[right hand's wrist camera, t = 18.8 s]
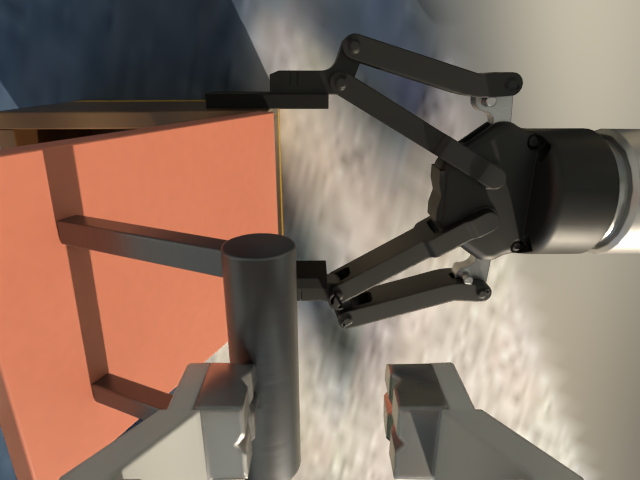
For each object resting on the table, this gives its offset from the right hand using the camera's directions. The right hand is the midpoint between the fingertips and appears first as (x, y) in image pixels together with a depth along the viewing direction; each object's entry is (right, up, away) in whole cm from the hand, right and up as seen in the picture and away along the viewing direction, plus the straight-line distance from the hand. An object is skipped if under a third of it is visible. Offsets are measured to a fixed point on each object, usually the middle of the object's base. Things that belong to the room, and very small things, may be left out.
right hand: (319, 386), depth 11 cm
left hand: (-6, +6, +17) cm, 19 cm away
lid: (-6, +3, +7) cm, 10 cm away
